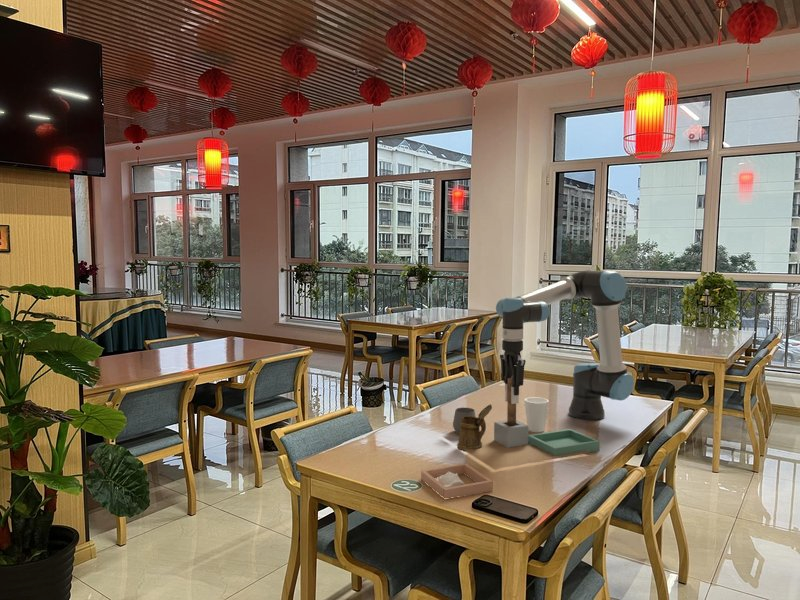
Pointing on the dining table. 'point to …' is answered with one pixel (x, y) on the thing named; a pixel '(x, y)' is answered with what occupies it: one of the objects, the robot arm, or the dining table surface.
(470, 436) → the wooden mug
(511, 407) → the dowel
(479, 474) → the pink square tray
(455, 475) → the white seashell
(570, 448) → the tray
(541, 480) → the dining table surface
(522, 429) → the grey hollow square block
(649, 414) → the dining table surface
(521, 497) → the dining table surface
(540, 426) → the foam cup
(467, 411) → the cup
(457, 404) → the dining table surface
